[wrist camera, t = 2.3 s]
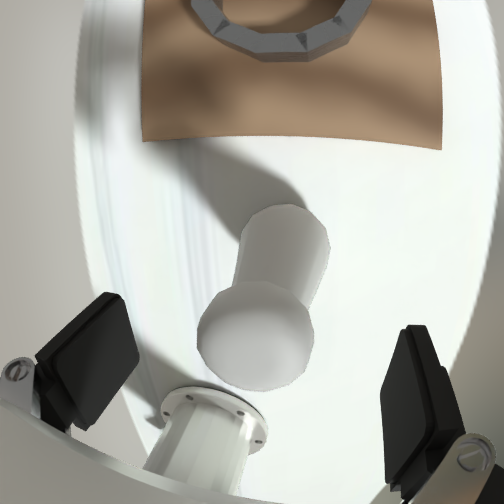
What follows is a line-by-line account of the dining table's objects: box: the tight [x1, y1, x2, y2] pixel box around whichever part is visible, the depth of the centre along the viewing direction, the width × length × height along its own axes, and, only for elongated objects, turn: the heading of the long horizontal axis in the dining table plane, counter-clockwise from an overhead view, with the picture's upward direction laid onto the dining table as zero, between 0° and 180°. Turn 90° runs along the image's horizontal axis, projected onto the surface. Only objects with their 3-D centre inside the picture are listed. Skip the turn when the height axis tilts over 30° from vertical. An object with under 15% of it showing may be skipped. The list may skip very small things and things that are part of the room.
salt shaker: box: [197, 204, 331, 392], centre depth 16 cm, size 6×6×13 cm
